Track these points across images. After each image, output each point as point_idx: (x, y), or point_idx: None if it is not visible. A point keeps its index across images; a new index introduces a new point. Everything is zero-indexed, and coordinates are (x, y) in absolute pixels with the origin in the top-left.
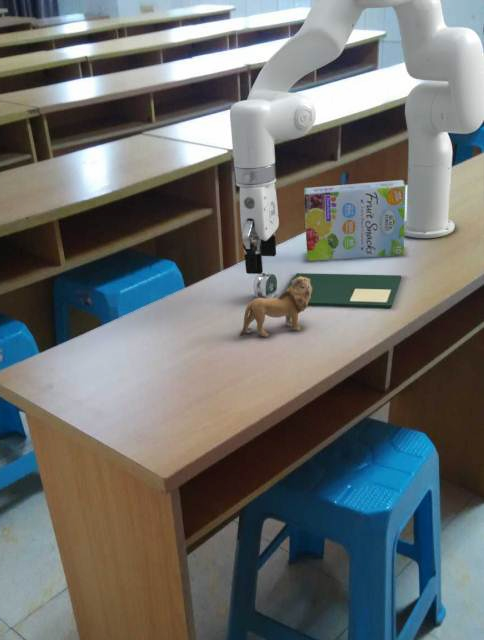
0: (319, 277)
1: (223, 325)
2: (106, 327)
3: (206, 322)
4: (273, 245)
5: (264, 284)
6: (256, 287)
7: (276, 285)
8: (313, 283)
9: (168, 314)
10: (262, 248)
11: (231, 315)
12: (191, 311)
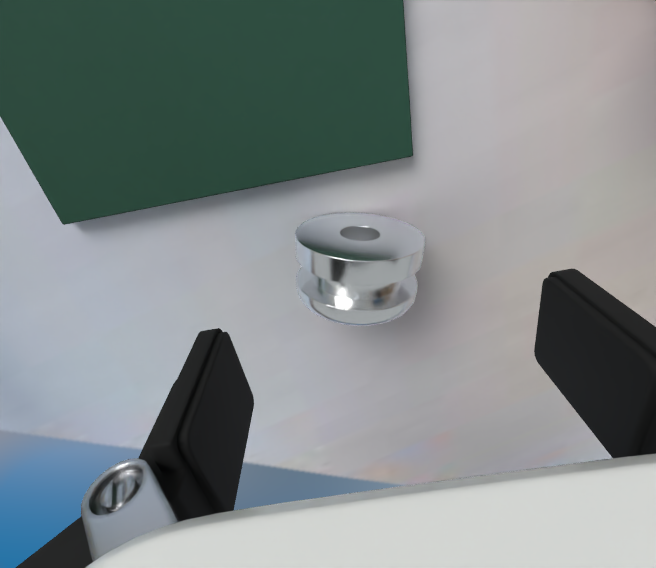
0: (36, 68)
1: (624, 274)
2: None
3: None
4: (207, 388)
5: (421, 254)
6: (417, 285)
7: (303, 227)
8: (133, 65)
9: (526, 447)
10: (240, 430)
11: (534, 288)
12: (503, 409)
